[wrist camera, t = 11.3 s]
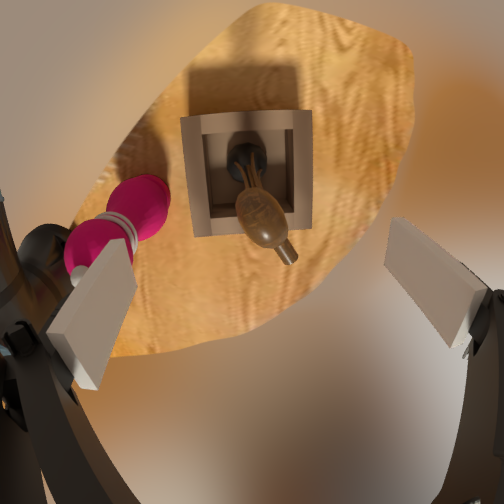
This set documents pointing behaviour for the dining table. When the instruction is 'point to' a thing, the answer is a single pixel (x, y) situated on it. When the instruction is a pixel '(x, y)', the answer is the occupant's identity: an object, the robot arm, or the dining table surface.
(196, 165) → the box
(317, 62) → the dining table surface
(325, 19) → the dining table surface
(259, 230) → the wooden tabletop sculpture
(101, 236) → the pepper mill
